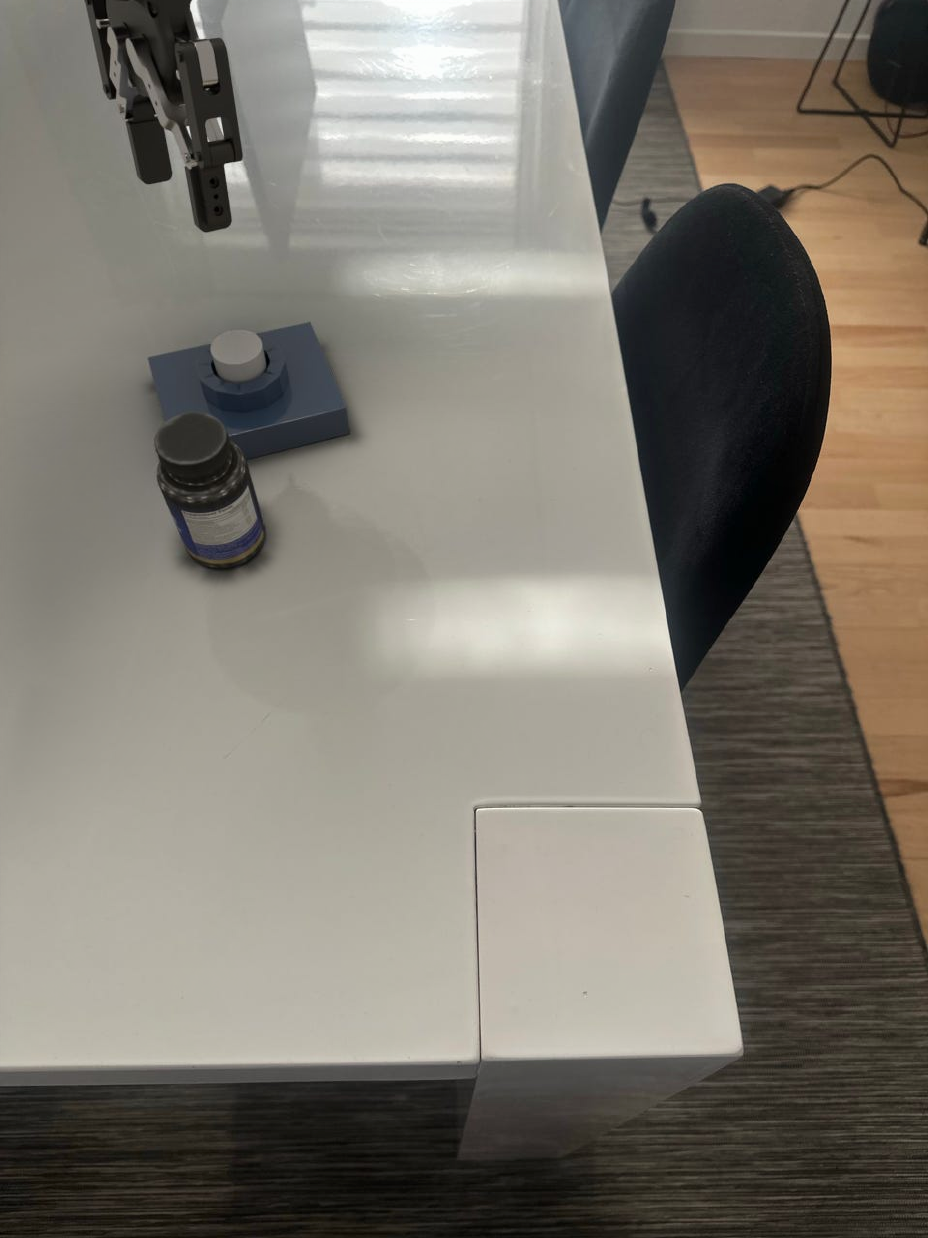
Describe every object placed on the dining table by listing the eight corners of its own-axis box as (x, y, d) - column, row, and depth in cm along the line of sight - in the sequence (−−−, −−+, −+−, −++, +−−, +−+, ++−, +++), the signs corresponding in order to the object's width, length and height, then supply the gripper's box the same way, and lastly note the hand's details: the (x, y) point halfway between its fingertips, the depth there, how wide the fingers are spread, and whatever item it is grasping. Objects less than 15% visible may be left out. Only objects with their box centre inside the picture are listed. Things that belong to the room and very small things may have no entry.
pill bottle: (188, 509, 65) (146, 404, 55) (267, 504, 65) (239, 399, 56) (183, 574, 62) (137, 475, 52) (266, 568, 62) (236, 469, 53)
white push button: (222, 389, 65) (216, 368, 64) (211, 356, 67) (205, 335, 66) (272, 377, 66) (267, 357, 64) (260, 345, 68) (255, 324, 66)
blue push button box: (181, 476, 67) (164, 431, 62) (157, 384, 72) (139, 337, 68) (350, 433, 70) (344, 388, 65) (314, 348, 75) (307, 301, 71)
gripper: (1, -147, 44) (85, 177, 56) (107, -100, 37) (178, 260, 49) (136, -149, 48) (189, 157, 60) (258, -106, 40) (290, 232, 52)
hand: (184, 203), depth 54 cm, fingers open, 8 cm apart
